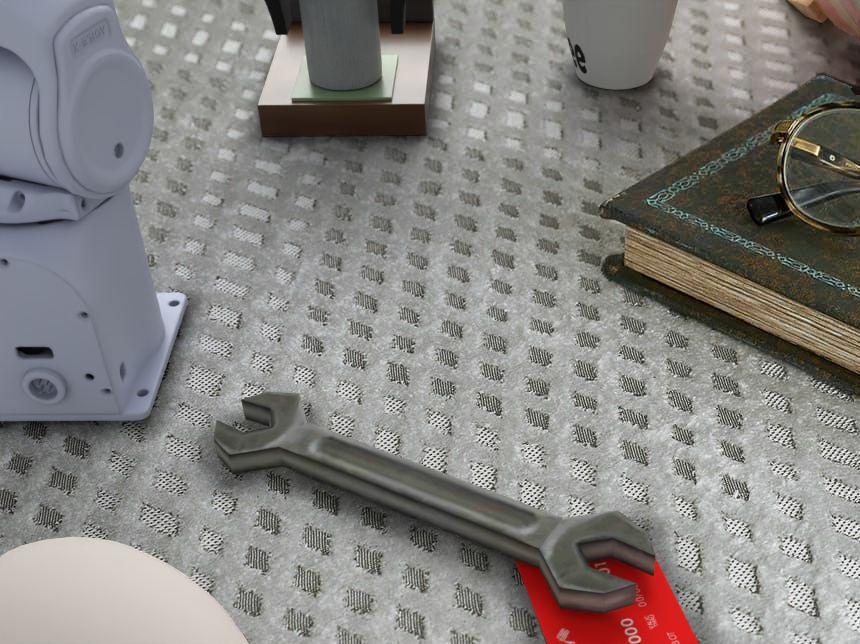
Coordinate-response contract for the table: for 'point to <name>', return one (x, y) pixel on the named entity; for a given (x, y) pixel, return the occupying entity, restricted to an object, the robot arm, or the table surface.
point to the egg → (103, 597)
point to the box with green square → (361, 108)
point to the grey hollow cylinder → (342, 43)
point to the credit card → (617, 630)
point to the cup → (617, 39)
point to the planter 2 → (833, 13)
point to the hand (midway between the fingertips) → (341, 27)
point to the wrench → (445, 503)
